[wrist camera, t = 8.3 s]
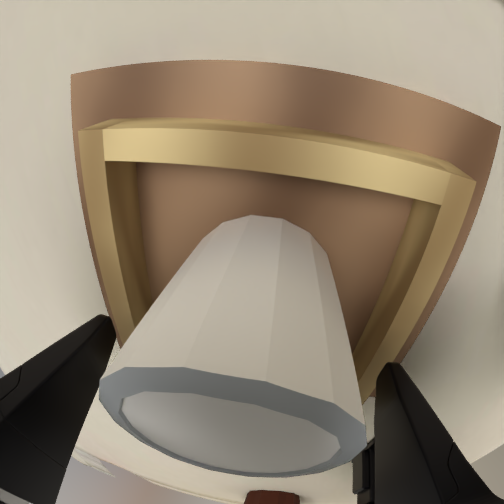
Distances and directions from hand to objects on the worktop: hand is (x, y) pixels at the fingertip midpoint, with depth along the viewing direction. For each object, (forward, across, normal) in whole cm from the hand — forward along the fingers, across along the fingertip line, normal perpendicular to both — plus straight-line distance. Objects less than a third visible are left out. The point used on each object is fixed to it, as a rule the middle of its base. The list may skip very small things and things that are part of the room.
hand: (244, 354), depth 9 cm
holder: (+5, 0, 0) cm, 5 cm away
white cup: (+4, 0, 0) cm, 4 cm away
